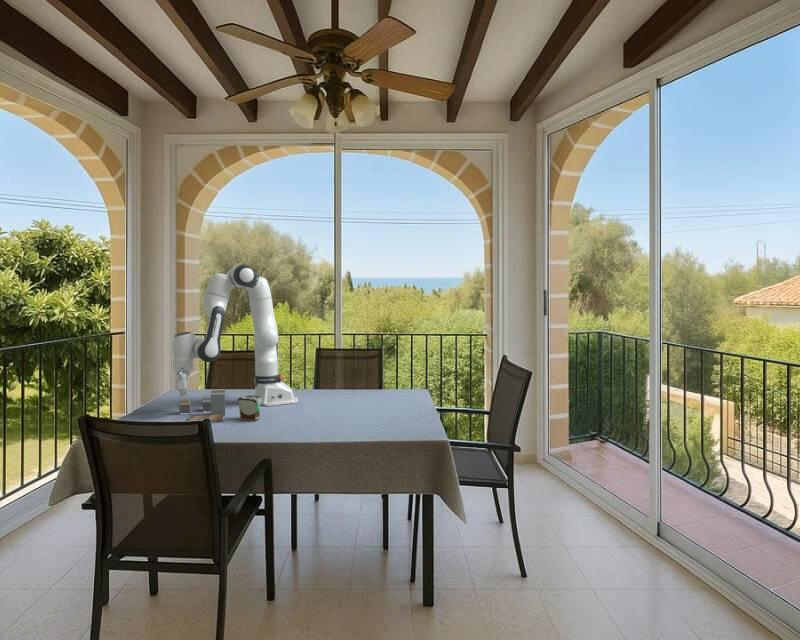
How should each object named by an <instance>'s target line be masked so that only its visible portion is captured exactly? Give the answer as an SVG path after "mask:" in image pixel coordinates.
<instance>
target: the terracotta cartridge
mask: <svg viewBox="0 0 800 640" xmlns="http://www.w3.org/2000/svg"><path fill="white" fill-rule="evenodd" d="M178 405H179V407H178V409H179V411H178V412H179V414H180V413H190V414H191V399H179V401H178Z"/></svg>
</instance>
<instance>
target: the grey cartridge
mask: <svg viewBox="0 0 800 640" xmlns="http://www.w3.org/2000/svg"><path fill="white" fill-rule="evenodd" d="M203 411H206V412H211V396H205V397H202V412H203Z"/></svg>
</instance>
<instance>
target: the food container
mask: <svg viewBox="0 0 800 640" xmlns="http://www.w3.org/2000/svg"><path fill="white" fill-rule="evenodd" d="M237 402H238V408H239V418H240V419H241V420H246V421H252V422H258V421H259V420H260V413H261V411H260V410H261V405H260V403H261V402H262V400H261V398H260V396H257V395H255V394H246V395H239V396H238V397H237Z"/></svg>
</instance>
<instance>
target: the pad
mask: <svg viewBox="0 0 800 640" xmlns="http://www.w3.org/2000/svg"><path fill="white" fill-rule="evenodd" d="M204 418H210V419H211V422H212V423H211V424H214V423H223V418H224V416H223V414H217V415H211V414H206V415H205V414H204V415H203V414H202V415H191V416H189V417H188V420H187V422H188V421H194V420H202V419H204Z"/></svg>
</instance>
